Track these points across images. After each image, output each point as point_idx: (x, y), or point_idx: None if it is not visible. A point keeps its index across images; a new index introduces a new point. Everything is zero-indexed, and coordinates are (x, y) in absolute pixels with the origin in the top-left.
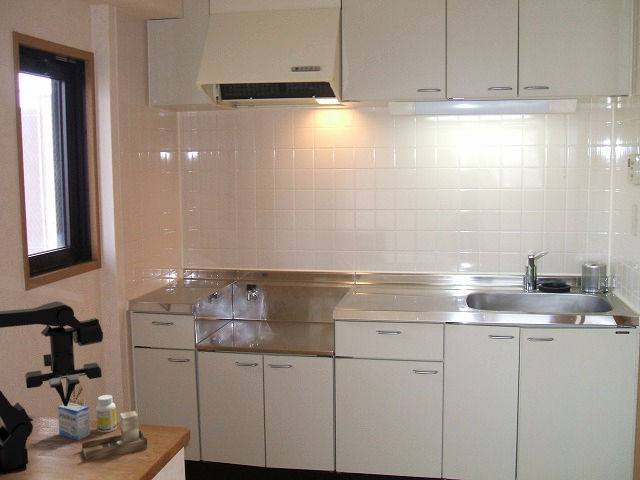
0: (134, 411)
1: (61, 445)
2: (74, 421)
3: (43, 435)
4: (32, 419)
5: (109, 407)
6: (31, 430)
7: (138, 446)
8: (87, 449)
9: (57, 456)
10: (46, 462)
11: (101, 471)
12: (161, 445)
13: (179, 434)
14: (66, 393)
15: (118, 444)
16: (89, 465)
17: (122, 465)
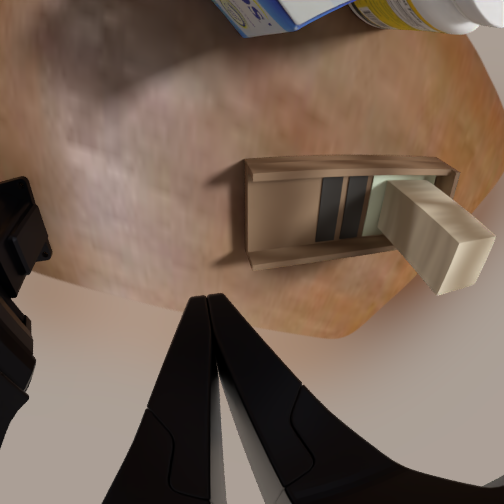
0: (492, 243)
1: (160, 63)
2: (251, 14)
3: None
4: (27, 400)
5: (464, 32)
6: (30, 346)
7: None
8: (264, 195)
9: (142, 177)
10: (106, 217)
11: (274, 317)
12: None
13: (495, 177)
14: (249, 456)
15: (370, 199)
16: (250, 280)
17: (329, 300)
